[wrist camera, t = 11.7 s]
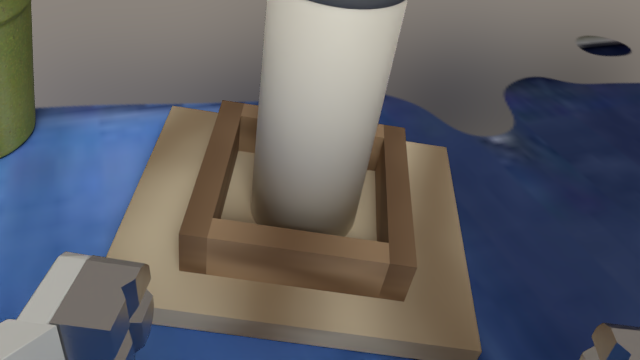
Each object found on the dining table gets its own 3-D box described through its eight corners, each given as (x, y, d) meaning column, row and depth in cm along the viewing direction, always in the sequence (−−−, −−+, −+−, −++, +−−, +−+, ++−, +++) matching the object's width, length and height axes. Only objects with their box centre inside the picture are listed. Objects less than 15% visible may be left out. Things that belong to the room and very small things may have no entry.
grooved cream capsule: (356, 180, 27) (426, -127, 19) (356, 255, 24) (443, -82, 15) (256, 167, 27) (283, -150, 19) (242, 240, 23) (266, -110, 15)
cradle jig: (440, 162, 31) (457, 115, 29) (473, 366, 22) (501, 318, 20) (172, 122, 30) (171, 71, 28) (90, 315, 21) (80, 260, 19)
